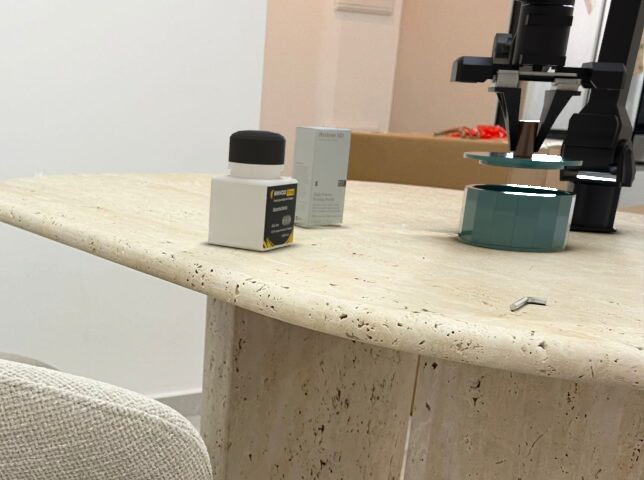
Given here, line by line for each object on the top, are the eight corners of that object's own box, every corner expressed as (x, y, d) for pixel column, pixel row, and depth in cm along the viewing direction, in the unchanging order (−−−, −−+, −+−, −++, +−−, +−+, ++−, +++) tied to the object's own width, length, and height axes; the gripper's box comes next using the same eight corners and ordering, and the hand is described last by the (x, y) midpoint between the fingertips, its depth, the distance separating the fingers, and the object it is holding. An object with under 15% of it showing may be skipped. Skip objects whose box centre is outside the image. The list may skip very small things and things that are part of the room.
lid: (566, 165, 118) (574, 122, 117) (594, 173, 106) (603, 125, 104) (456, 158, 120) (462, 116, 118) (470, 166, 107) (477, 118, 105)
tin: (552, 239, 121) (561, 187, 119) (576, 254, 109) (587, 198, 107) (452, 232, 122) (459, 181, 120) (465, 247, 111) (474, 191, 108)
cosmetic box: (307, 228, 119) (317, 127, 115) (285, 223, 123) (293, 125, 119) (344, 227, 123) (354, 128, 118) (321, 222, 126) (330, 126, 122)
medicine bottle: (263, 252, 100) (272, 133, 96) (206, 243, 104) (212, 128, 100) (293, 245, 106) (303, 132, 102) (238, 237, 110) (245, 128, 105)
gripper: (613, 16, 113) (587, 152, 119) (454, 9, 115) (436, 144, 121) (641, 8, 103) (612, 158, 108) (466, 1, 105) (446, 148, 110)
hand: (523, 151), depth 112 cm, fingers closed on lid, 2 cm apart
